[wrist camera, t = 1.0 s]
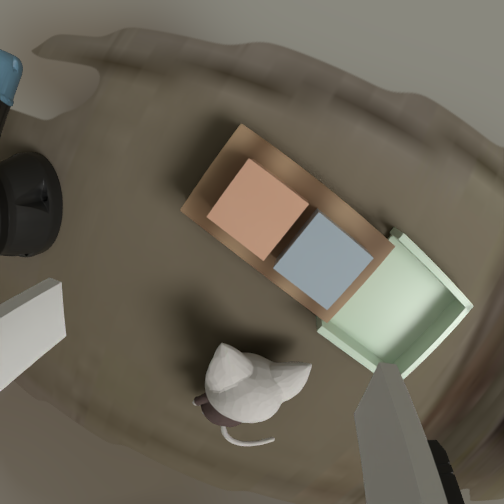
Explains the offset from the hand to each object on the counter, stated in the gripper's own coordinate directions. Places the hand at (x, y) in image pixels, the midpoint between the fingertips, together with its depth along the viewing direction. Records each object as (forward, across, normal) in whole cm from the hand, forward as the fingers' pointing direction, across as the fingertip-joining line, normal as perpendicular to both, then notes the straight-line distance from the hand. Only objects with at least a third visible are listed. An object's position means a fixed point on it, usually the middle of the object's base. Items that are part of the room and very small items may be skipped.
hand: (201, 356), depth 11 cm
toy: (+23, +3, -18) cm, 29 cm away
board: (+23, +2, +2) cm, 23 cm away
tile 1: (+18, +6, 0) cm, 19 cm away
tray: (+22, +16, -5) cm, 28 cm away
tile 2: (+19, 0, +3) cm, 19 cm away
